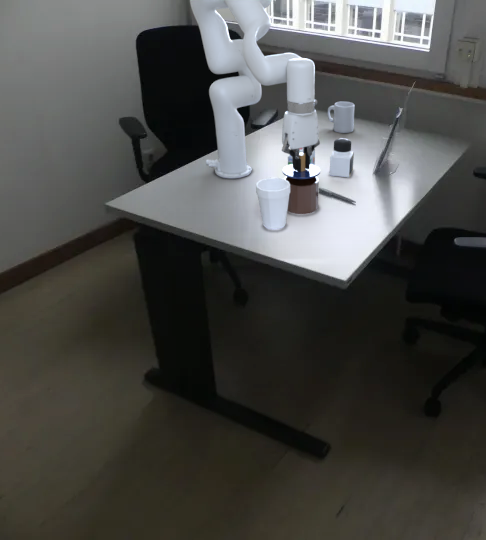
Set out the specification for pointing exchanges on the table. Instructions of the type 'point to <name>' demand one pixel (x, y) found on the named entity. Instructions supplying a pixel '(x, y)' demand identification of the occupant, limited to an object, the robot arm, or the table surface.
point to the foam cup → (273, 201)
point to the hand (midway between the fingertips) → (301, 168)
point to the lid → (304, 172)
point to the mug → (342, 117)
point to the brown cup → (303, 195)
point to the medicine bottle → (341, 158)
